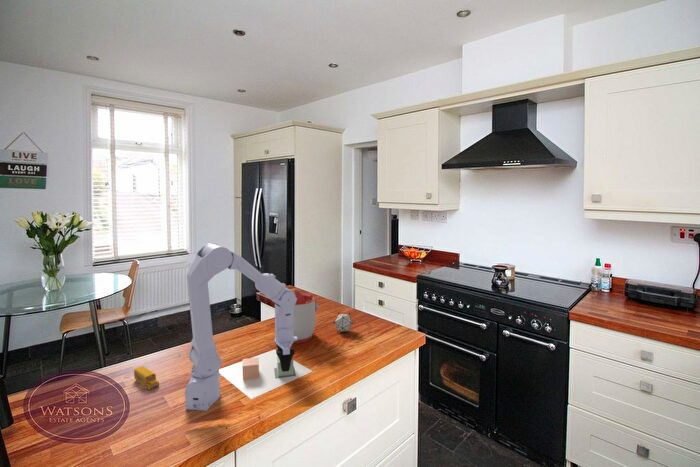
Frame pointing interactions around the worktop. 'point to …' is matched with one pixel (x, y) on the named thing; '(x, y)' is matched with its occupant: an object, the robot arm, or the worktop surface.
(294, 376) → the baseplate
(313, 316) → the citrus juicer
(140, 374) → the toy bus
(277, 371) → the green brick
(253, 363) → the terracotta brick
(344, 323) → the game die
